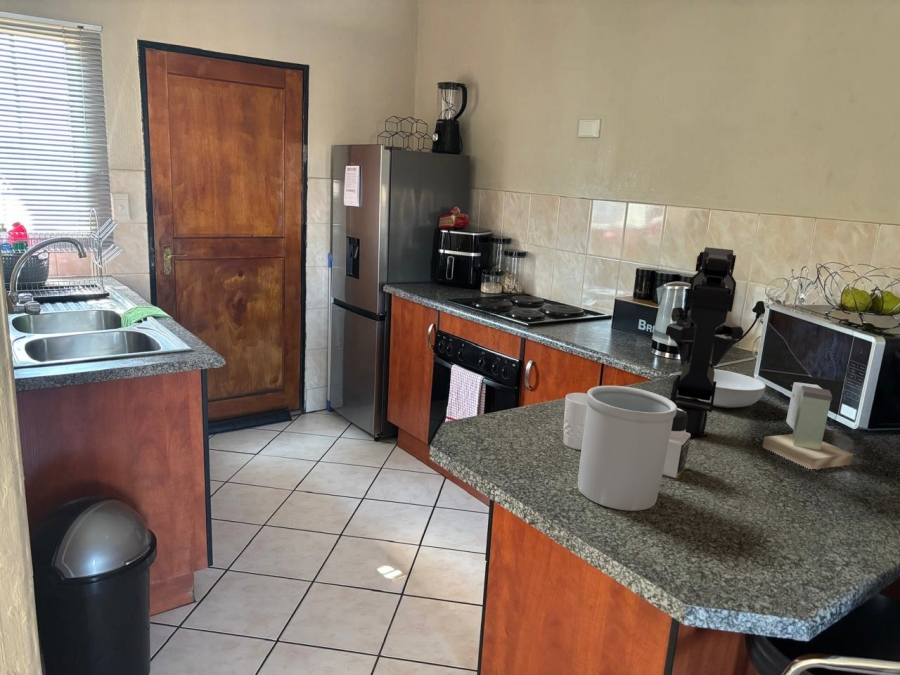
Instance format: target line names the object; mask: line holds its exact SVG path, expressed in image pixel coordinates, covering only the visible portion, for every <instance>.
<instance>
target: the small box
mask: <svg viewBox="0 0 900 675" xmlns="http://www.w3.org/2000/svg"><path fill="white" fill-rule="evenodd" d="M802 386H807V387H813V388H819V389H823V388H822V387H821V386H819V385H818V384H811V383H805V382H804V383H803V382H798V381H797V382H793V384H792V390H791V394H790V401H789V405H788V411H787V416H786V420H785V422H786V424H787V425H788V426H789V427H790V428H791V429H792V430H793V429H794V424H795V419H796V415H797V410H798V405H799V400H800V395H801V387H802Z"/></svg>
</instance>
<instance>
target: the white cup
mask: <svg viewBox="0 0 900 675" xmlns="http://www.w3.org/2000/svg"><path fill="white" fill-rule="evenodd" d="M564 402H565V403H564V416H563V435H562V436H563V437H562V442H563V444H564V445H565V446H566V447H568V448H571V449H573V450H578V451H581V449H582V442H583V433H584V425H585V418H586V411H587V404H588V402H587V393H586V392H585V393H584V392H572V393H570V392H569V393H568V394H566V395H565V399H564Z"/></svg>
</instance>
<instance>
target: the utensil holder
mask: <svg viewBox="0 0 900 675" xmlns="http://www.w3.org/2000/svg"><path fill="white" fill-rule="evenodd" d="M586 394H587V402H588V404H587V411H586V418H585V425H584V433H583V442H582V449H581V450H580V458H579V466H578V467H579V468H578V476H577V489H578V491H579V492H580V493H581V494H582V495H583V496H584V497H585V498H586V499H588V500H590V501H592V502H594V503H596V504H598V505H600V506H603V507H607V508H609V509H615V510H618V511H619V510H621V511H630V512H632V511H633V512H634V511H635V512H637V511H643V510H644V511H645V510H648V509H650V508H652V507H653V506H654V505H655V504H656V503H657V499H658V496H659V491H660V486H661V482H662V478H663V470H664V464H665V459H666V454H667V449H668V444H669V439H670V434H671V429H672V423H673V418H674V417H675V415H676V411H677V406H676V405H675V403H673V402H672V401H671V400H670V399H669V398H667V397H665V396H663V395H660V394H658V393H655V392H651V391H648V390H645V389H641V388H636V387H630V386H622V385H621V386H620V385H598V386H594V387H590V388H589V389H588V390H587V393H586Z"/></svg>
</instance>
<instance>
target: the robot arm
mask: <svg viewBox="0 0 900 675" xmlns="http://www.w3.org/2000/svg"><path fill="white" fill-rule="evenodd" d="M736 259H737V255H736V254H734V250H733V249H727V248H726V249H725V248H718V247H716V248H715V247H707V246H706V247H704V250H703V251H700V252H699V255H697V256H696V263H695V264H696V265H695V272H696V273H695V274H694V275H693V276H692V278H691V282H690V287H689V292H688V297H687V303H686V304H687V306H686V307H690V309H689V310H684V308H683V307H674V308H673V307H672V309H671V316H670V318H671V321H672V322H676V323H669V324H668V325H667V326H666V330H665V335H666V336H669V339H671V340H673V341H674V342H675V344H676V346H677V350H678V354H679V358H680V359H679V360H680V364H681V367H682V368H681V372H682V373H681V372H680V374H678V375H677V377H676V379H673V383H672V388H671V393H670V399H669V400H671V401H672V402H673V403H675V405H676V406H677V408H678V409H681V410H683V411H684V412H686V413H687V415H688V420H687V426H686V433H690V434H691V437H690V439H691V438H699V437H701V438H702V437H708V436H709V433H708V432H707V431H705V430H706V425H707V418H708V413H712V412H713V407H714V406H713V402H714V395H715V389H716V381H714V374H715V372H714V369H715V367H717V365H718V364H719V363H720V361H721V360H722V359H723V357H724V356H725V355H726V354H727V353H728V351H729V350H730V349H732V347H733V346H734V345H735V344H736V343H738V341H739V340H742V339H743V336H744V330H743V328H742V326H740V325H735V324H732V323H729V322H727V318H728V312H729V313H732V312H733V307H734V301H735V296H736V289H737V288H736V287H737V281H736V279H735V278H734V276H733V274H734V270H735V266H736V265H735V264H736ZM710 398H711V401H710V402H705V401H700V400H698V399H701V400H706V401H709V400H710Z"/></svg>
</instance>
